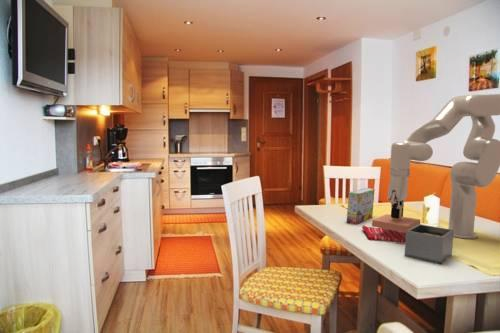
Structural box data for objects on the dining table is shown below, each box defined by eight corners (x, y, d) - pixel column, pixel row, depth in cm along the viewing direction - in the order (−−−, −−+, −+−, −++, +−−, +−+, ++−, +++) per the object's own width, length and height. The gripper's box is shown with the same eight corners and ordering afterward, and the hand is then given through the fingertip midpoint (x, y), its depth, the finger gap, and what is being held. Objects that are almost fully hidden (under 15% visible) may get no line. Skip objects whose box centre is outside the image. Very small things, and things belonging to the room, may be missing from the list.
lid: (386, 219, 169) (387, 200, 168) (419, 225, 160) (421, 205, 159) (371, 226, 157) (373, 205, 156) (407, 232, 148) (408, 210, 147)
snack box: (357, 225, 178) (359, 193, 177) (346, 223, 182) (347, 191, 180) (373, 217, 195) (375, 188, 194) (362, 216, 199) (364, 187, 197)
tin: (417, 247, 146) (418, 224, 145) (451, 254, 138) (453, 230, 137) (404, 255, 135) (406, 230, 134) (441, 264, 127) (443, 237, 126)
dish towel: (361, 230, 170) (361, 224, 170) (416, 234, 167) (417, 228, 167) (366, 241, 154) (367, 235, 153) (429, 245, 150) (429, 239, 150)
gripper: (397, 170, 165) (394, 212, 167) (382, 173, 152) (380, 218, 154) (415, 172, 160) (412, 215, 162) (402, 175, 147) (399, 222, 149)
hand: (396, 216), depth 158 cm, fingers closed on lid, 3 cm apart
